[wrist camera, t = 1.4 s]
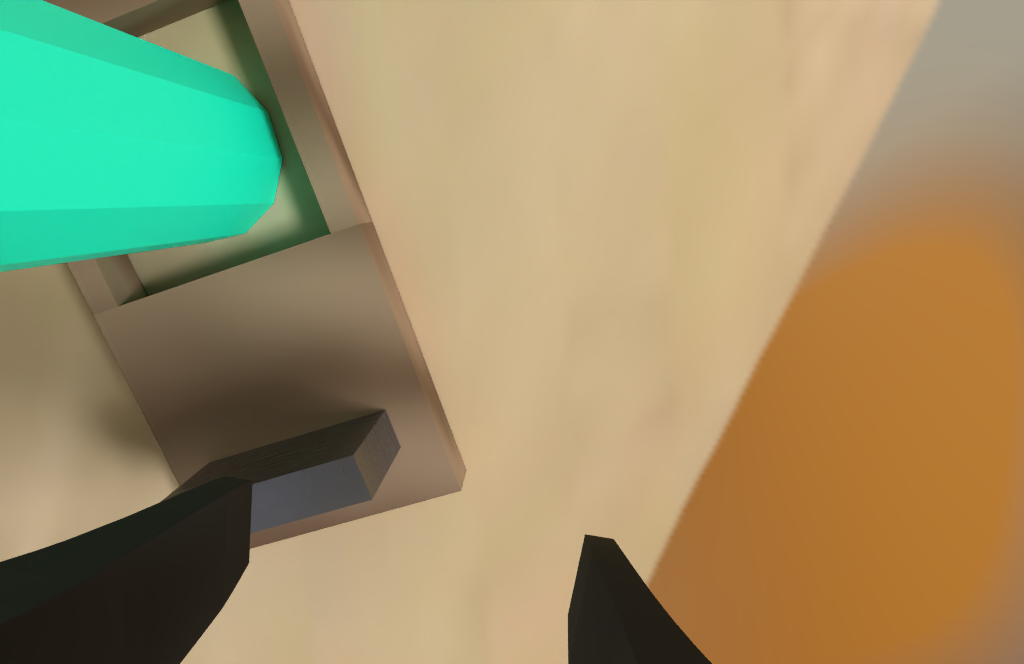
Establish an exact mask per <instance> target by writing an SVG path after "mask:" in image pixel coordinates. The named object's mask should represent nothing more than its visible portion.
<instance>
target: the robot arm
mask: <svg viewBox="0 0 1024 664" xmlns="http://www.w3.org/2000/svg"><path fill="white" fill-rule="evenodd" d="M252 485H253V481H252V480H246V479H240V478H234V477H227V476H224V477H221V478H218V479H215V480H212V481H210V482H207V483H205V484H202V485H200V486H197V487H195V488H193V489H190V490H188V491H186V492H183V493H181V494H179V495H176V496H174V497H172V498H169V499H167V500H165V501H162V502H160V503H158V504H155V505H153V506H151V507H148V508H146V509H144V510H141V511H139V512H137V513H134V514H132V515H130V516H127V517H125V518H122V519H120V520H117V521H115V522H112V523H110V524H107V525H104V526H102V527H99V528H97V529H94V530H92V531H89V532H87V533H84V534H81V535H79V536H76V537H74V538H71V539H68V540H66V541H63V542H60V543H57V544H55V545H52V546H49V547H46V548H43V549H40V550H37V551H34V552H31V553H28V554H24V555H21V556H18V557H15V558H12V559H9V560H5V561H2V562H0V664H180V663H181V662H182V660H183V659H184V658H185V656H186V655H187V654H188V653H189V651H190V650H191V649H192V647H193V646H194V645H195V644H196V642H197V641H198V640H199V638H200V637H201V636H202V634H203V633H204V632H205V630H206V629H207V628H208V626H209V625H210V624H211V623H212V621H213V620H214V619H215V617H216V616H217V615H218V613H219V612H220V611H221V609H222V608H223V606H224V605H225V603H226V601H227V600H228V598H229V597H230V595H231V593H232V592H233V590H234V588H235V587H236V585H237V583H238V581H239V580H240V578H241V576H242V574H243V573H244V571H245V569H246V567H247V566H248V564H249V551H250V529H251V507H252ZM568 662H569V664H712V663H711V662H710V661H709V660H708V659H707V658H706V657H705V656H704V655H703V654H702V653H701V652H700V650H699V649H698V648H697V647H696V646H695V645H694V644H693V643H692V641H691V640H690V639H689V638H688V637H687V636H686V634H685V633H684V632H683V631H682V630H681V629H680V628H679V626H678V625H677V624H676V623H675V622H674V620H673V619H672V618H671V617H670V615H668V613H667V612H666V611H665V609H664V608H663V607H662V605H661V604H660V603H659V602H658V600H657V599H656V598H655V596H654V595H653V594H652V592H651V591H650V590H649V588H648V587H647V586H646V584H645V583H644V582H643V580H642V579H641V577H640V576H639V575H638V573H637V572H636V570H635V569H634V568H633V566H632V565H631V563H630V562H629V560H628V559H627V558H626V556H625V555H624V553H623V552H622V550H621V549H620V548H619V546H618V545H617V543H616V542H615V540H614V539H610V538H604V537H598V536H591V535H585V538H584V542H583V547H582V552H581V556H580V561H579V566H578V571H577V575H576V580H575V585H574V589H573V594H572V599H571V603H570V608H569V613H568Z"/></svg>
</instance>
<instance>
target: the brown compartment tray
mask: <svg viewBox="0 0 1024 664" xmlns="http://www.w3.org/2000/svg"><path fill="white" fill-rule="evenodd" d="M43 1H46V2H48V3H51V4H53V5H56V6H58V7H61V8H63V9H66V10H68V11H71V12H74V13H76V14H79V15H81V16H84V17H86V18H89V19H91V20H94V21H96V22H99V23H101V24H104V25H107V26H109V27H112V28H114V29H117V30H119V31H122V32H124V33H127V34H129V35H132V36H135V37H139V36H141V35H144V34H146V33H149V32H151V31H154V30H156V29H159V28H161V27H164V26H166V25H168V24H171V23H173V22H176V21H178V20H181V19H183V18H186V17H188V16H191V15H193V14H195V13H198V12H200V11H203V10H205V9H208V8H210V7H213V6H215V5H217V4H220V3H222V2H225V1H227V0H43ZM238 1H239V3H240V6H241V8H242V11H243V13H244V16H245V19H246V21H247V24H248V26H249V29H250V31H251V34H252V36H253V39H254V41H255V44H256V46H257V49H258V51H259V54H260V56H261V59H262V61H263V64H264V66H265V69H266V72H267V74H268V77H269V79H270V82H271V84H272V87H273V89H274V92H275V94H276V97H277V99H278V102H279V104H280V107H281V109H282V112H283V114H284V117H285V119H286V122H287V125H288V127H289V130H290V132H291V135H292V137H293V140H294V142H295V145H296V147H297V150H298V152H299V155H300V157H301V160H302V162H303V165H304V167H305V170H306V172H307V175H308V178H309V180H310V183H311V185H312V188H313V190H314V193H315V195H316V198H317V200H318V203H319V205H320V208H321V210H322V213H323V215H324V218H325V220H326V223H327V225H328V228H329V231H330V233H331V234H328V235H325V236H322V237H319V238H317V239H314V240H311V241H308V242H305V243H302V244H299V245H296V246H293V247H290V248H287V249H285V250H282V251H279V252H276V253H273V254H270V255H267V256H264V257H261V258H258V259H255V260H252V261H250V262H247V263H244V264H241V265H238V266H235V267H232V268H229V269H226V270H223V271H220V272H218V273H215V274H212V275H209V276H206V277H203V278H200V279H197V280H194V281H191V282H188V283H185V284H183V285H180V286H177V287H174V288H171V289H168V290H165V291H162V292H159V293H156V294H153V295H151V296H148V297H147V295H146V293H145V291H144V289H143V287H142V285H141V282H140V280H139V278H138V276H137V274H136V272H135V270H134V268H133V266H132V264H131V262H130V260H129V258H128V256H127V254H123V255H116V256H109V257H102V258H95V259H88V260H81V261H74V262H67V265H68V267H69V269H70V271H71V273H72V275H73V277H74V278H75V280H76V282H77V284H78V286H79V288H80V290H81V292H82V294H83V296H84V298H85V300H86V302H87V304H88V306H89V308H90V310H91V312H92V314H93V316H94V318H95V320H96V322H97V324H98V326H99V328H100V329H101V331H102V333H103V335H104V337H105V339H106V341H107V343H108V345H109V347H110V349H111V351H112V353H113V355H114V357H115V359H116V361H117V363H118V365H119V367H120V369H121V371H122V373H123V375H124V377H125V379H126V381H127V382H128V384H129V386H130V388H131V390H132V392H133V394H134V396H135V398H136V400H137V402H138V404H139V406H140V408H141V410H142V412H143V414H144V416H145V418H146V420H147V422H148V424H149V426H150V428H151V430H152V432H153V434H154V435H155V437H156V439H157V441H158V443H159V445H160V447H161V449H162V451H163V453H164V455H165V457H166V459H167V461H168V463H169V465H170V467H171V469H172V471H173V473H174V475H175V477H176V479H177V481H178V483H179V485H180V486H179V487H178V488H177V489H176V490H175V491H173V492H172V493H171V494H170V495H168V496H167V497H166V498H165V499H164V500H162V501H165V500H167V499H169V498H172V497H174V496H176V495H179V494H181V493H183V492H186V491H188V490H190V489H193V488H195V487H197V486H200V485H202V484H205V483H207V482H210V481H212V480H215V479H218V478H221V477H224V476H227V477H234V478H240V479H246V480H252V481H253V485H252V507H251V529H250V549H251V548H254V547H258V546H262V545H265V544H269V543H272V542H276V541H280V540H283V539H287V538H291V537H294V536H298V535H302V534H305V533H309V532H313V531H316V530H320V529H323V528H327V527H331V526H334V525H338V524H342V523H345V522H349V521H353V520H356V519H360V518H363V517H367V516H371V515H374V514H378V513H382V512H385V511H389V510H393V509H396V508H400V507H403V506H407V505H411V504H414V503H418V502H422V501H425V500H429V499H433V498H436V497H440V496H443V495H447V494H451V493H454V492H458V491H461V489H462V485H463V481H464V478H465V474H466V469H465V466H464V463H463V461H462V458H461V455H460V453H459V450H458V447H457V445H456V442H455V439H454V437H453V434H452V431H451V429H450V426H449V423H448V421H447V418H446V416H445V413H444V410H443V408H442V405H441V402H440V400H439V397H438V394H437V392H436V389H435V386H434V384H433V381H432V378H431V376H430V373H429V371H428V368H427V365H426V363H425V360H424V357H423V355H422V352H421V349H420V347H419V344H418V341H417V339H416V336H415V333H414V331H413V328H412V325H411V323H410V320H409V318H408V315H407V312H406V310H405V307H404V304H403V302H402V299H401V296H400V294H399V291H398V288H397V286H396V283H395V280H394V278H393V275H392V272H391V270H390V267H389V265H388V262H387V259H386V257H385V254H384V251H383V249H382V246H381V243H380V241H379V238H378V235H377V233H376V230H375V227H374V225H373V222H372V220H371V217H370V214H369V212H368V209H367V206H366V204H365V201H364V198H363V196H362V193H361V190H360V188H359V185H358V182H357V180H356V177H355V174H354V172H353V169H352V167H351V164H350V161H349V159H348V156H347V153H346V151H345V148H344V145H343V143H342V140H341V137H340V135H339V132H338V129H337V127H336V124H335V122H334V119H333V116H332V114H331V111H330V108H329V106H328V103H327V100H326V98H325V95H324V92H323V90H322V87H321V84H320V82H319V79H318V76H317V74H316V71H315V69H314V66H313V63H312V61H311V58H310V55H309V53H308V50H307V47H306V45H305V42H304V39H303V37H302V34H301V31H300V29H299V26H298V24H297V21H296V18H295V16H294V13H293V10H292V8H291V5H290V2H289V0H238ZM162 501H161V502H162Z"/></svg>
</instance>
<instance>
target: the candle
mask: <svg viewBox="0 0 1024 664" xmlns="http://www.w3.org/2000/svg"><path fill="white" fill-rule="evenodd" d="M281 164H282V155H281V152H280V149H279V145H278V142H277V139H276V136H275V132H274V129H273V126H272V122H271V119H270V116H269V113H268V111H267V110H266V109H265V108H264V107H263V106H262V105H261V104H260V103H259V102H258V101H257V99H256V98H255V97H254V96H253V95H252V94H251V93H250V92H249V91H248V90H247V89H246V88H245V87H244V86H243V85H242V84H241V83H240V82H239V80H238V79H237V78H236V77H235V76H234V75H231V74H229V73H226V72H224V71H221V70H219V69H216V68H213V67H211V66H208V65H206V64H203V63H201V62H198V61H196V60H193V59H191V58H188V57H185V56H183V55H180V54H178V53H175V52H173V51H170V50H168V49H165V48H163V47H160V46H157V45H155V44H152V43H150V42H147V41H145V40H142V39H140V38H137V37H135V36H132V35H129V34H127V33H124V32H122V31H119V30H117V29H114V28H112V27H109V26H107V25H104V24H101V23H99V22H96V21H94V20H91V19H89V18H86V17H84V16H81V15H79V14H76V13H74V12H71V11H68V10H66V9H63V8H61V7H58V6H56V5H53V4H51V3H48V2H46V1H43V0H0V272H3V271H10V270H17V269H24V268H31V267H38V266H45V265H52V264H59V263H67V262H74V261H81V260H88V259H95V258H102V257H109V256H116V255H123V254H130V253H137V252H144V251H151V250H158V249H165V248H172V247H179V246H186V245H193V244H200V243H206V242H211V241H215V240H219V239H224V238H228V237H232V236H236V235H241V234H245V233H246V232H247V231H248V230H249V229H250V228H251V227H252V226H253V225H254V224H255V223H256V222H257V220H258V219H259V218H260V217H261V216H262V215H263V214H264V213H265V212H266V211H267V210H268V209H269V208H270V207H271V206H272V205H273V203H274V200H275V195H276V190H277V184H278V179H279V174H280V169H281Z"/></svg>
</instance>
